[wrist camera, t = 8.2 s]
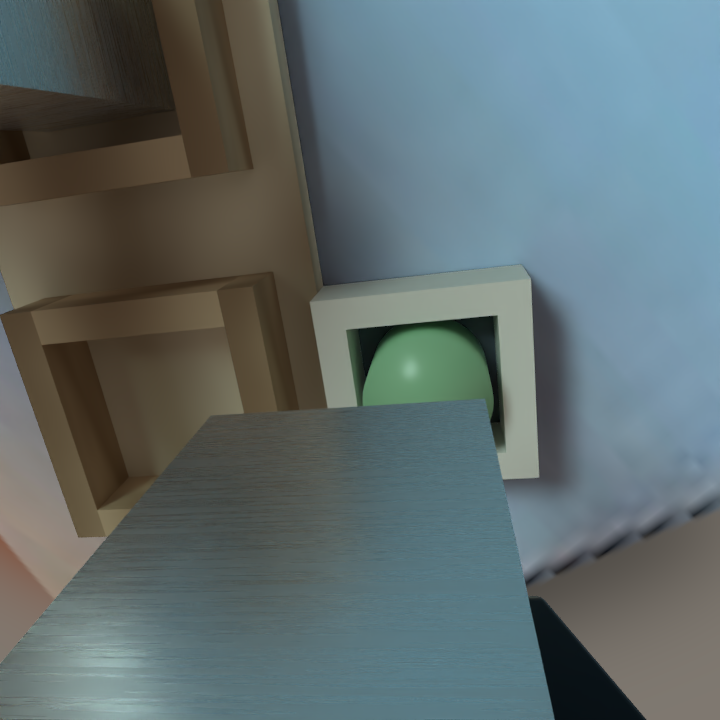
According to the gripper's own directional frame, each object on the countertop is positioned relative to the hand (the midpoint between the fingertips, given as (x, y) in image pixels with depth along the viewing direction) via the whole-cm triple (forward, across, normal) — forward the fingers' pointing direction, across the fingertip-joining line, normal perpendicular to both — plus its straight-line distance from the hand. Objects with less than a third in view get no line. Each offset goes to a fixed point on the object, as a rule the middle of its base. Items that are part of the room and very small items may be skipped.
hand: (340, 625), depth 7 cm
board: (+12, +7, -4) cm, 15 cm away
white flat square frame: (+12, -1, +1) cm, 12 cm away
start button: (+12, -1, +1) cm, 12 cm away
